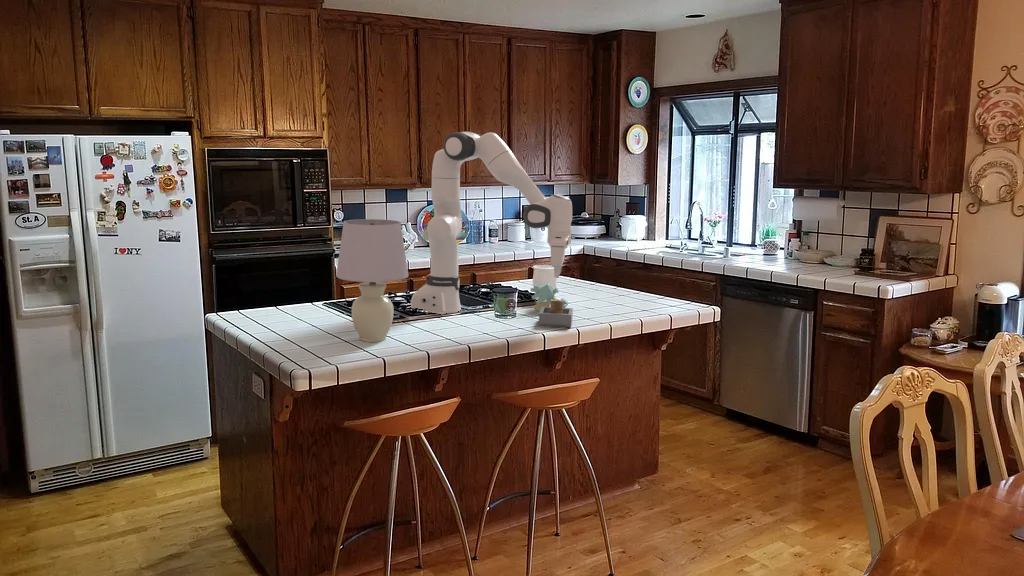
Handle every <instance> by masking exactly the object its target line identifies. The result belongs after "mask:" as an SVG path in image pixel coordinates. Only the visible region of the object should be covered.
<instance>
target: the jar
mask: <svg viewBox="0 0 1024 576" xmlns="http://www.w3.org/2000/svg"><path fill="white" fill-rule="evenodd" d="M533 269H534V271H533V276H532V288H534V285H538V286H543V285H545V284H547V283H549V282H550V284H551V285H552V287H553V289H555V288H556V287H557V282H558V278H555V277H554V267H552V264H535V265H533ZM533 293H534V295H536V292H533ZM539 298H540V296H539V297H537V298H534V300H535V299H536V300H538V299H539ZM536 300H535V301H536ZM545 301H547V300H544V301H541V302H545Z"/></svg>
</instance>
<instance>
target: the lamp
mask: <svg viewBox="0 0 1024 576" xmlns="http://www.w3.org/2000/svg"><path fill="white" fill-rule="evenodd" d="M404 243H405V242H404V236H403V231H402V222H401V221H398V220H392V219H381V218H380V219H376V218H375V219H374V218H373V219H371V218H370V219H369V218H367V219H366V218H365V219H349V220H348V219H347V220H344V221H343V223H342V232H341V239H340V246H339V252H338V260H337V267H336V273H335V277H336V278H338V279H340V280H344V281H348V282H359V285H358V288H359V291H360V294H361V295H360V296H357V298H355V300H354V301H353V303H352V305H351V319H352V323H353V326H354V328H355V331H356V333H357V335H358V336H359V339H360V341H362V342H367V343H376V342H377V343H378V342H384V341H385V340H386V339H387V335H388V334H389V331H390V329H391V327H392V323H393V320H394V314H395V313H394V312H395V311H394V304H393V302H392V301H391V299H390V298H389V297H387V296H386V295H385V294H384V293H385V292H386V291H385V290H386V288H387V284H386V283H385V282H394V281H395V282H396V281H401V280H405V279H407V278H409V271H408V269H409V268H408V264H407V263H408V262H407V257H406V256H407V255H406V251H405V244H404ZM360 282H361V283H360Z"/></svg>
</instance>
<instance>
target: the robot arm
mask: <svg viewBox="0 0 1024 576" xmlns="http://www.w3.org/2000/svg"><path fill="white" fill-rule="evenodd" d="M478 159H480V160H481V161H482V162H483V163H484V165H485V167H486V168H487V170H488V171H489V172H490V174H491V175H492V176H493V177H494V178H495V179H496V181H498V182H501V183H503V184H505V185H506V184H507V185H509V186H511V187H513V188H515V189H517V191H518V192H520V193H521V194H522V195H523V197H524V198H525V200H526V201H527V202H528V204H529V205H528V206H526V207H525V209H524V211H523V214H522V216H523V221H524V223H525V224H526V225H527V226H528V227H529V228H531V229H536V230H537V229H543V228H546V229H547V239H546V240H547V243H546V244H548V246H549V247H550V262H551V263H550V265H552V267H554V277H555V278H557V279H559V278H560V274H561V273H562V266H563V264H564V261H565V256H566V255H565V254H566V249H568V246H569V245H571V244H572V222H573V202H572V199H570V197H568V196H565V195H562V194H551V195H550V196H549V197H547V196H545V194H544V193H543V192H542V191H541V189H540V188H539V187H538V186H537V185H536V183H535V182H534V181H533V179H532V178H531V177H530V175H529V174H528V173H527V172H526V170H525V169H524V168H523V166H522V164H521V163H520V162H519V161H518V159H517V158H516V156H515V154H514V153H513V152H512V150H511V148H509V146H508V145H507V143H505V141H504V140H503V139H502V138H501V137H500V136H499V135H498V134H497V133H495V132H486V133H483V134H482V135H481V134H480V133H477V132H474V131H473V132H472V131H460V132H459V131H457V132H456V131H455V132H453V133H450V134H448V136H446V138H445V139H444V142H443V148H442V149H439V150H437V151H436V152H435V154H434V156H433V160H432V167H431V168H432V169H431V193H430V194H431V201H432V206H433V213H434V214H433V215H434V216H433V217H432V218H430V220H429V221H428V224H427V227H426V232H427V236H428V237H427V238H428V246H429V252H430V273H429V274H427V275H426V276H425V278H424V279H425V284H424V285H423V286H421V287H420V288H418V290H416V291H415V292H413V294H412V296H411V301H410V303H409V304H408V305H411V306H410V307H411V308H418V309H423V311H428V312H432V313H438V314H441V315H445V314H446V313H447V314H453V313H454V314H455V313H459V312H461V311H462V310H461V308H462V305H461V301H460V300H461V299H460V291H459V289H460V284H461V282H460V280H461V279H460V275H459V253H458V246H457V237H458V236H459V235H460V233H461V231H462V228H463V220H462V210H461V209H462V208H461V207H462V206H461V198H460V197H461V195H460V194H461V193H460V192H461V190H460V188H461V167H462V164H464V163H469V162H473V161H477V160H478ZM424 309H425V310H424ZM460 310H461V311H460ZM458 311H459V312H458ZM438 314H437V315H438Z"/></svg>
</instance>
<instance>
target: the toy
mask: <svg viewBox="0 0 1024 576" xmlns="http://www.w3.org/2000/svg"><path fill="white" fill-rule="evenodd" d="M530 292H531V293H532V292H533V293H534V292H536V295H535V294H533V295H531V299H532V300H534V301H535V304H534V305H533V309H534V310H536V312H540V310H541V308H542V307H551V299H552V300H559V299H558V298H557V297H556V296H555V294H558V293H559V292H560V290H559V289H558V287H557V286H556V288H555V289H553V287H552V285H551V284H550V282H549V283H547V284H545V285H543V286H538V285H534V287H531V288H530ZM539 296H540V298H539V299H538V300H537V301H536V300H535V298H537V297H539ZM544 300H547V301H545V302H541V301H544ZM560 300H563V308H567V307H568V305H569V304H570V302H569V301H568V300H567V299H566V298H564V297H562V298H560Z"/></svg>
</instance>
